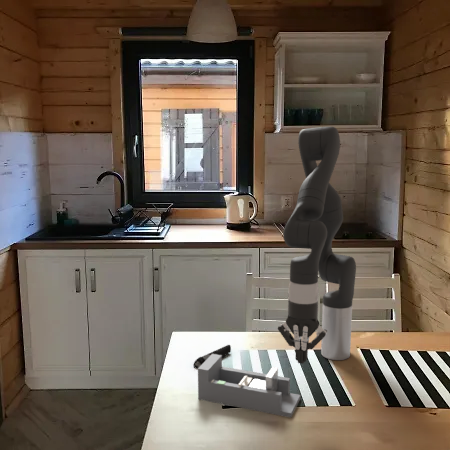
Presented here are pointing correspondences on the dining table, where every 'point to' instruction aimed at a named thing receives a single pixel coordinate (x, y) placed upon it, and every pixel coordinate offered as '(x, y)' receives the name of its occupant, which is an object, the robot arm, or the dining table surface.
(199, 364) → the electric trimmer
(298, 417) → the dining table surface
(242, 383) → the drag pointer
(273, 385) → the notched taupe block
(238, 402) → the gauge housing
